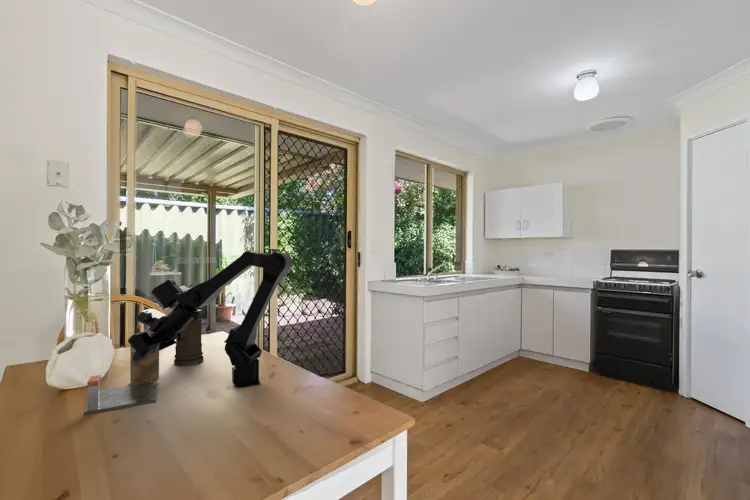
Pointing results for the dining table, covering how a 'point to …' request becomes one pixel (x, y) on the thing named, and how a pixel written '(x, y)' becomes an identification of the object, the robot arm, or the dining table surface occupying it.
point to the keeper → (117, 396)
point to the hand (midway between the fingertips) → (140, 357)
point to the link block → (144, 367)
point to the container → (190, 345)
